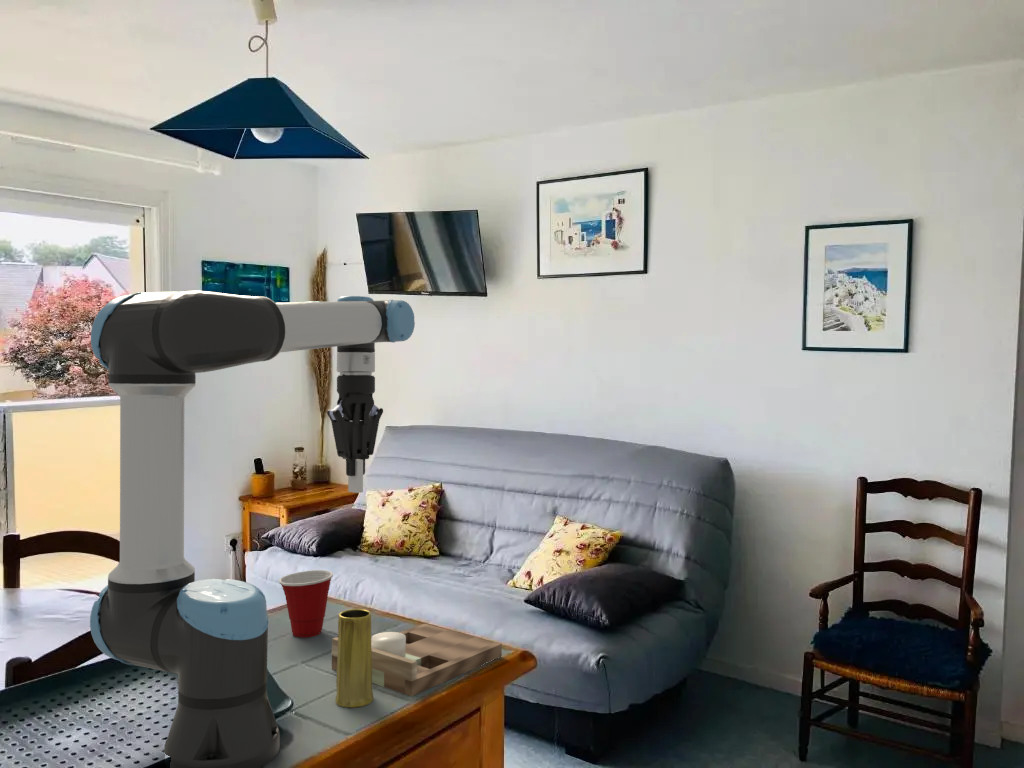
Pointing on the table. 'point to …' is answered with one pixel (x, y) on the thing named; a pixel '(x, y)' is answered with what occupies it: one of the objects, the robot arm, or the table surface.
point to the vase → (354, 659)
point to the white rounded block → (390, 643)
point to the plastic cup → (306, 600)
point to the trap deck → (427, 659)
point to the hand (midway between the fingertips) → (355, 491)
